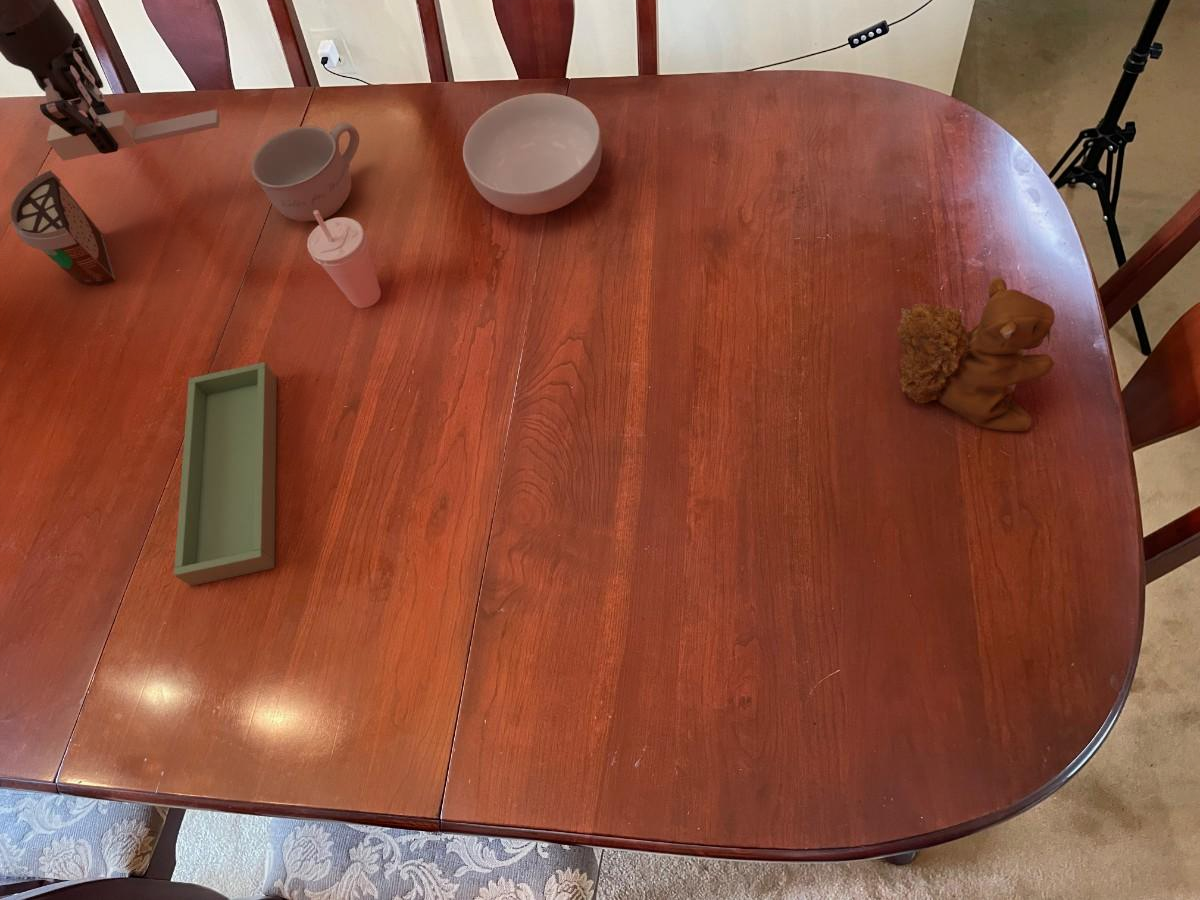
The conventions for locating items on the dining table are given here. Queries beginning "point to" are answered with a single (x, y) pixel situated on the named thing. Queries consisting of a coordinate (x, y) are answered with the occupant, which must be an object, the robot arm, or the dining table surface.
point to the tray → (228, 476)
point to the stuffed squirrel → (976, 356)
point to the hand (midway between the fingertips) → (111, 140)
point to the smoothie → (345, 258)
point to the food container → (61, 230)
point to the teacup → (306, 170)
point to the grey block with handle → (129, 132)
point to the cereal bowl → (533, 152)
